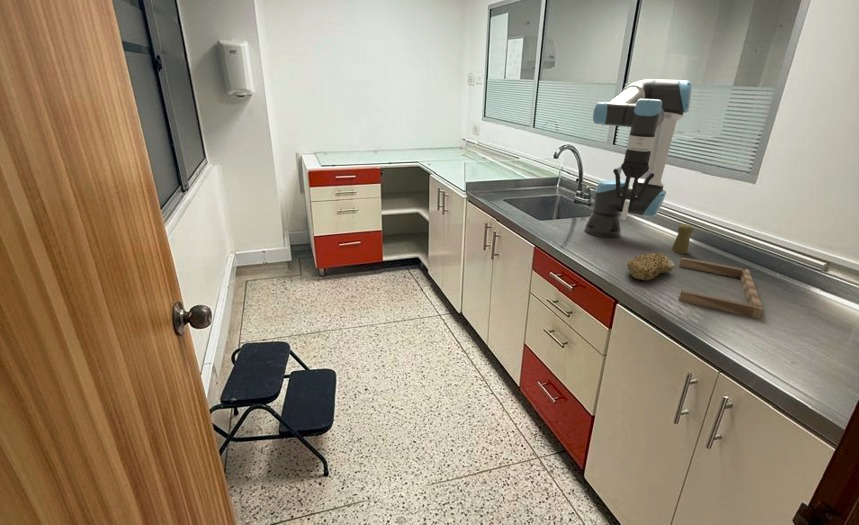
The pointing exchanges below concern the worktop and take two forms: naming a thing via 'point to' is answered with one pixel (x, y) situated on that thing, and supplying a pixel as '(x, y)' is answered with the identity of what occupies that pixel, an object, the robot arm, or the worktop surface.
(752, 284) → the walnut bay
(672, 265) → the sponge
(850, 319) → the worktop surface
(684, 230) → the olive waisted cylinder
